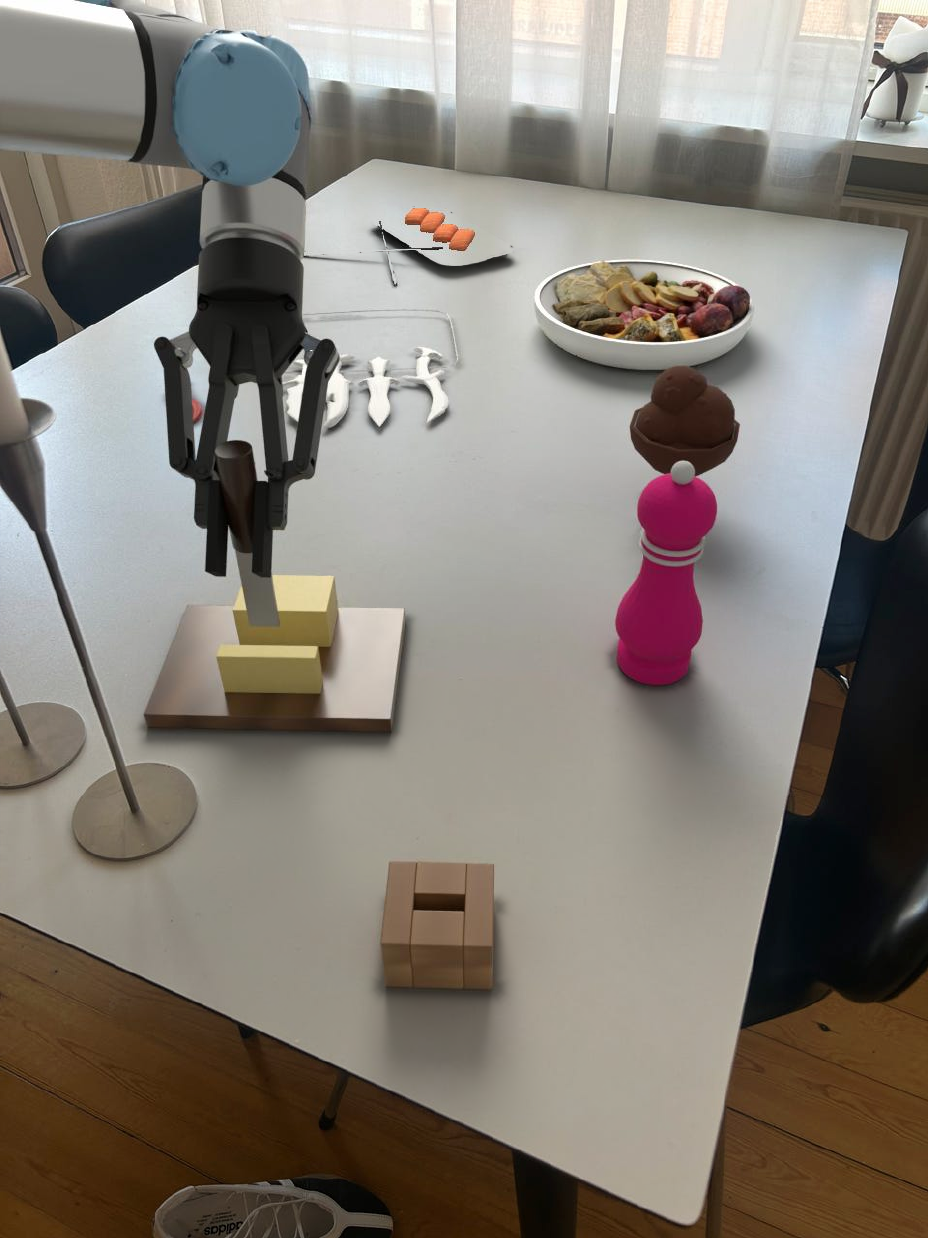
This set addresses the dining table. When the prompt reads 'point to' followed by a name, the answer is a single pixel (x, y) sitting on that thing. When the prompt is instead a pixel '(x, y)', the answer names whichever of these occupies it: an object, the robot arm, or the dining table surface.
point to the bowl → (643, 313)
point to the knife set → (371, 384)
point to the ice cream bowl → (685, 423)
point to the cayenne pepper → (196, 410)
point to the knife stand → (438, 925)
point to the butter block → (294, 613)
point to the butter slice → (270, 669)
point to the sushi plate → (439, 229)
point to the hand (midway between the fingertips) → (238, 573)
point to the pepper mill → (666, 578)
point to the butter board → (348, 700)
